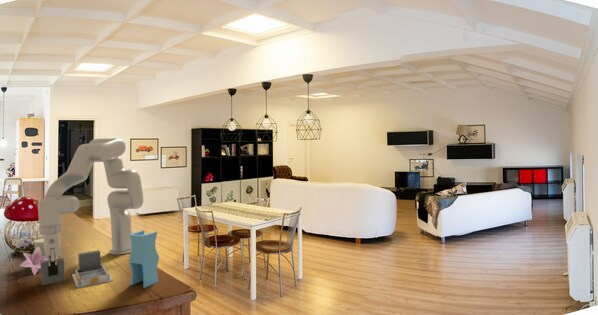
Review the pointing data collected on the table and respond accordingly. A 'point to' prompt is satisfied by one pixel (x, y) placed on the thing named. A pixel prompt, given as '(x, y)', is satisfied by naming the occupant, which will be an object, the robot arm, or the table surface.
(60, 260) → the panel
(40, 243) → the can
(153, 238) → the blue tall curved block
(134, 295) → the table surface
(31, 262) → the lily
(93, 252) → the rack
